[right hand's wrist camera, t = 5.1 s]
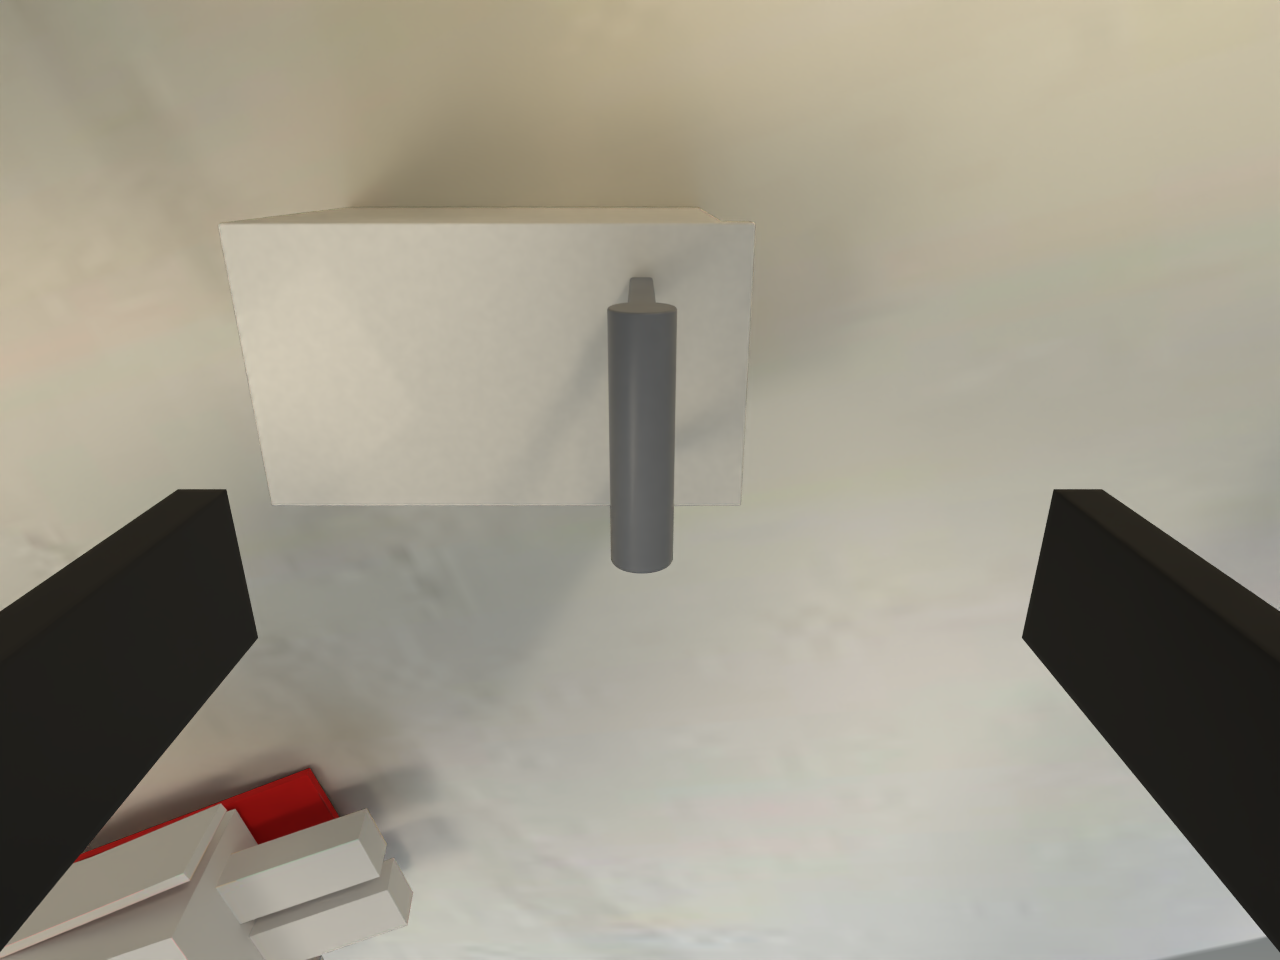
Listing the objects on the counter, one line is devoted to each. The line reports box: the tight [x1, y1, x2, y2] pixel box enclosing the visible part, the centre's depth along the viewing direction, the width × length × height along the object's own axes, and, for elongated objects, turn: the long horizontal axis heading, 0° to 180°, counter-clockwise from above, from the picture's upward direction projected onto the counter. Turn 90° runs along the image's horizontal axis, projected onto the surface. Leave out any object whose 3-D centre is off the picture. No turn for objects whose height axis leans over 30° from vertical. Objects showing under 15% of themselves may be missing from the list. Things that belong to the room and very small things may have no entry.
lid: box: [218, 221, 756, 573], centre depth 21 cm, size 16×9×8 cm, turn 90°
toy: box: [0, 768, 413, 960], centre depth 42 cm, size 12×13×30 cm
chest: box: [239, 207, 720, 221], centre depth 30 cm, size 15×9×10 cm, turn 90°
